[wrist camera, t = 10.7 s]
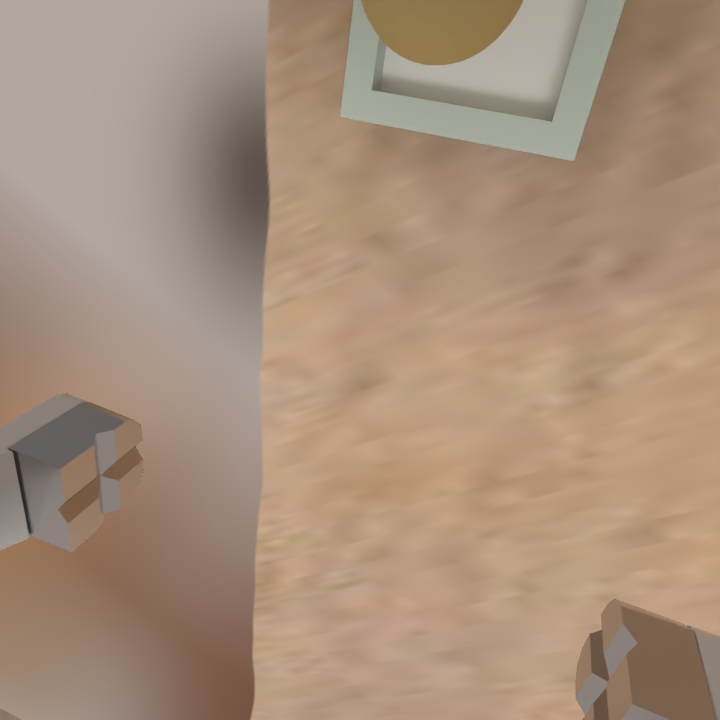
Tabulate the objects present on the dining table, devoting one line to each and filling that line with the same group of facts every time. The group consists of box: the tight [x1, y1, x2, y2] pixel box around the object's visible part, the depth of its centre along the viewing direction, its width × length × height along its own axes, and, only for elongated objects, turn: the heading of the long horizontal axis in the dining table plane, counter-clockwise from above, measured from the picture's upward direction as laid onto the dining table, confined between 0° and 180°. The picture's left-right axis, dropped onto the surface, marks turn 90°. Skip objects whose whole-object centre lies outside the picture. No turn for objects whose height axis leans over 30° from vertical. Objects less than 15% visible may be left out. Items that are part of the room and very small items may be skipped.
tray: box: [340, 0, 625, 161], centre depth 25 cm, size 12×12×2 cm
